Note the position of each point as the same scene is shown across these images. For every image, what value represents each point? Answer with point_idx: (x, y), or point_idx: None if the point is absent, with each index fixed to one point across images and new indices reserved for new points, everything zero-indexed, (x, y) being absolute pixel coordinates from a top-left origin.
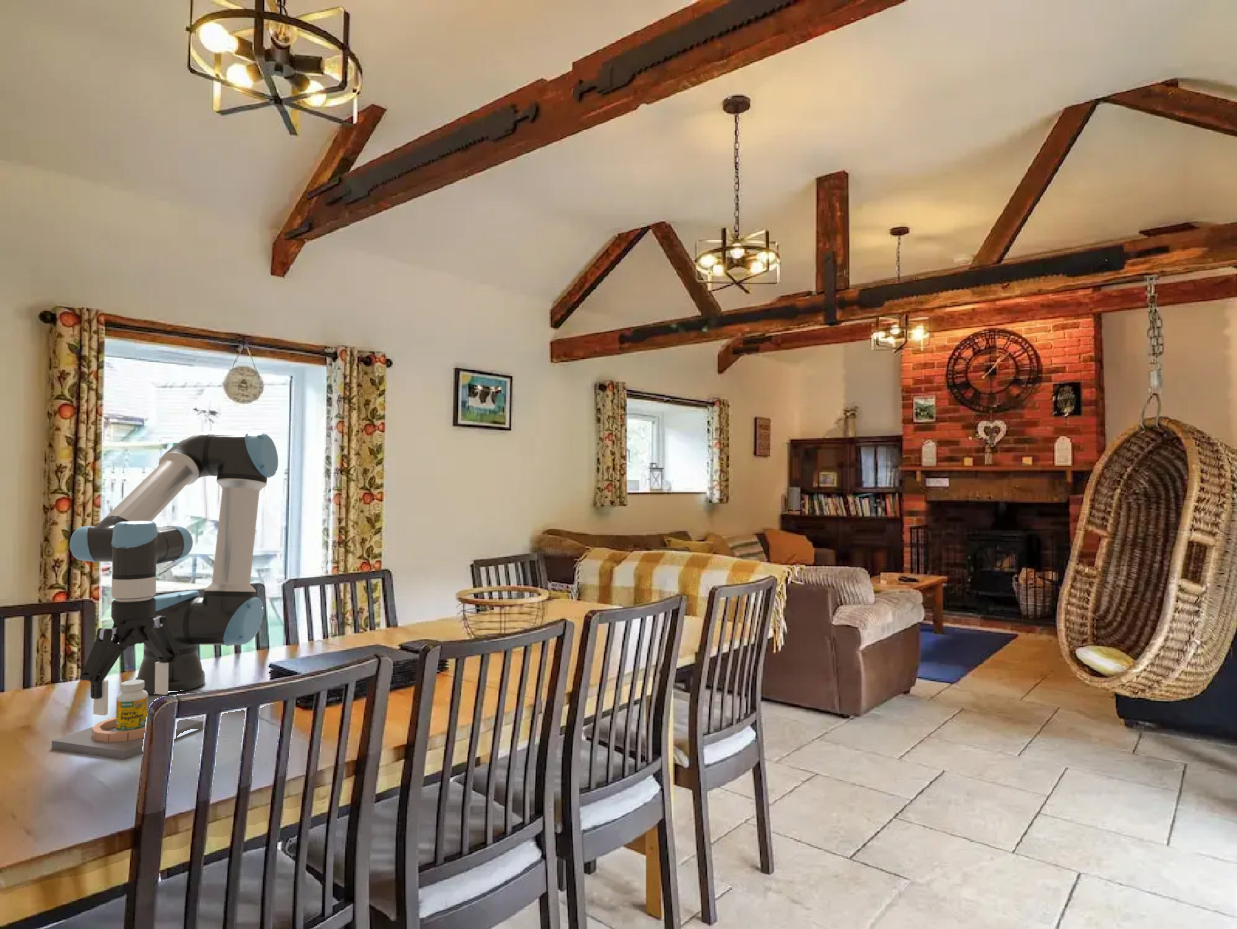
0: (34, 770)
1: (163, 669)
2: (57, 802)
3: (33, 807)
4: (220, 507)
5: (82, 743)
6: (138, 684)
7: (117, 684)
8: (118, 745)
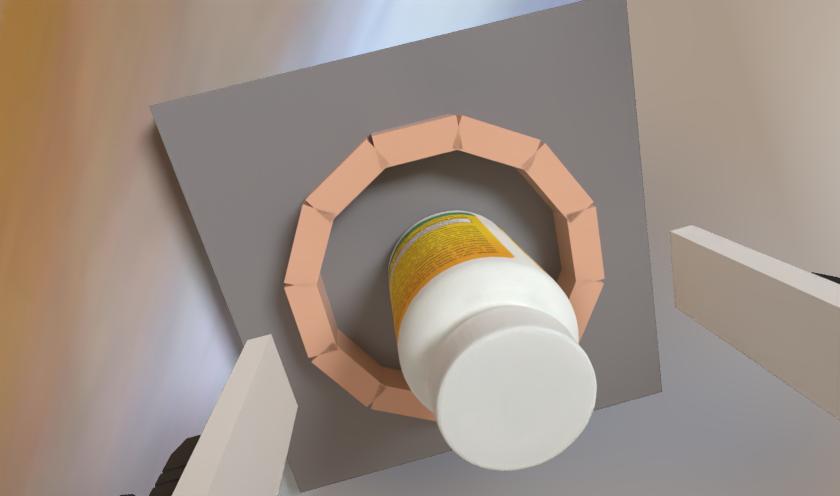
0: (32, 333)
1: (809, 383)
2: None
3: None
4: None
5: (233, 275)
6: (514, 465)
7: None
8: (317, 416)
